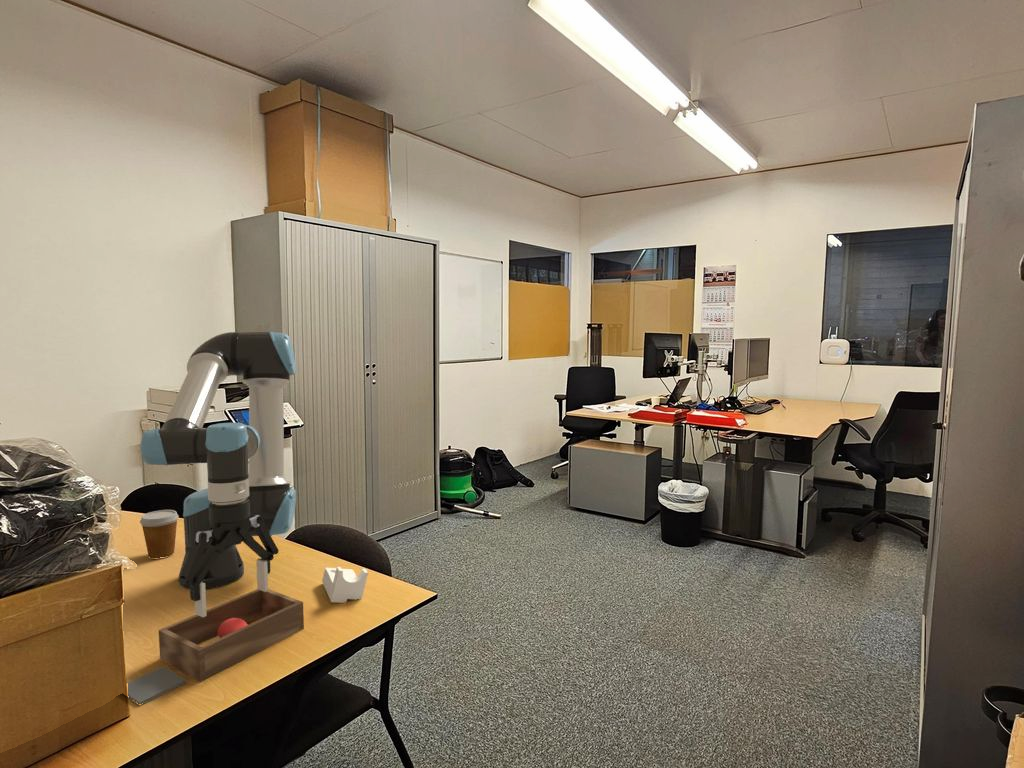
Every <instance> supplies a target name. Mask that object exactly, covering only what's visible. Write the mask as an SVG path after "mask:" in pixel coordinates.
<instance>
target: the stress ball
mask: <svg viewBox="0 0 1024 768" xmlns="http://www.w3.org/2000/svg"><path fill="white" fill-rule="evenodd" d="M247 625H249V624H248V622H245V621H244V620H242V619H239V618H231V619H228V620H226V621H224V622H223V623H222V624H221V625H220V627H219V629H218V637H219V638H221V637H223V636H226V635H228V634H230V633H232V632H234V631H236V630H239V629H241V628H243V627H245V626H247Z"/></svg>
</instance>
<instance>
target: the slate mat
mask: <svg viewBox="0 0 1024 768" xmlns="http://www.w3.org/2000/svg"><path fill="white" fill-rule="evenodd" d="M127 683H128V696H129V698H128V699H129V700H130V699H131V700H130V701H132V700H134V701H135V702H137V703H138V704H142V703H145V702H147V703H148V701H149V702H150V700H151V701H153V700H155V699H157V698H158V697H160V696H163V695H165V694H166V693H169V692H170V691H172V690H175V689H177V688H179V687H180V686H182V685H184V684H187V679H186V678H185V677H183V676H180V674H177V673H176V672H174V671H173V670H170V669H169V668H167V667H165V666H160V667H158V668H156V669H154V670H151V671H150V672H147V673H145V674H143V675H141V676H138V677H137V678H135V679H133V680H130V681H128V682H127ZM135 702H134V703H135ZM138 704H137V705H138ZM145 704H146V703H145Z"/></svg>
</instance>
